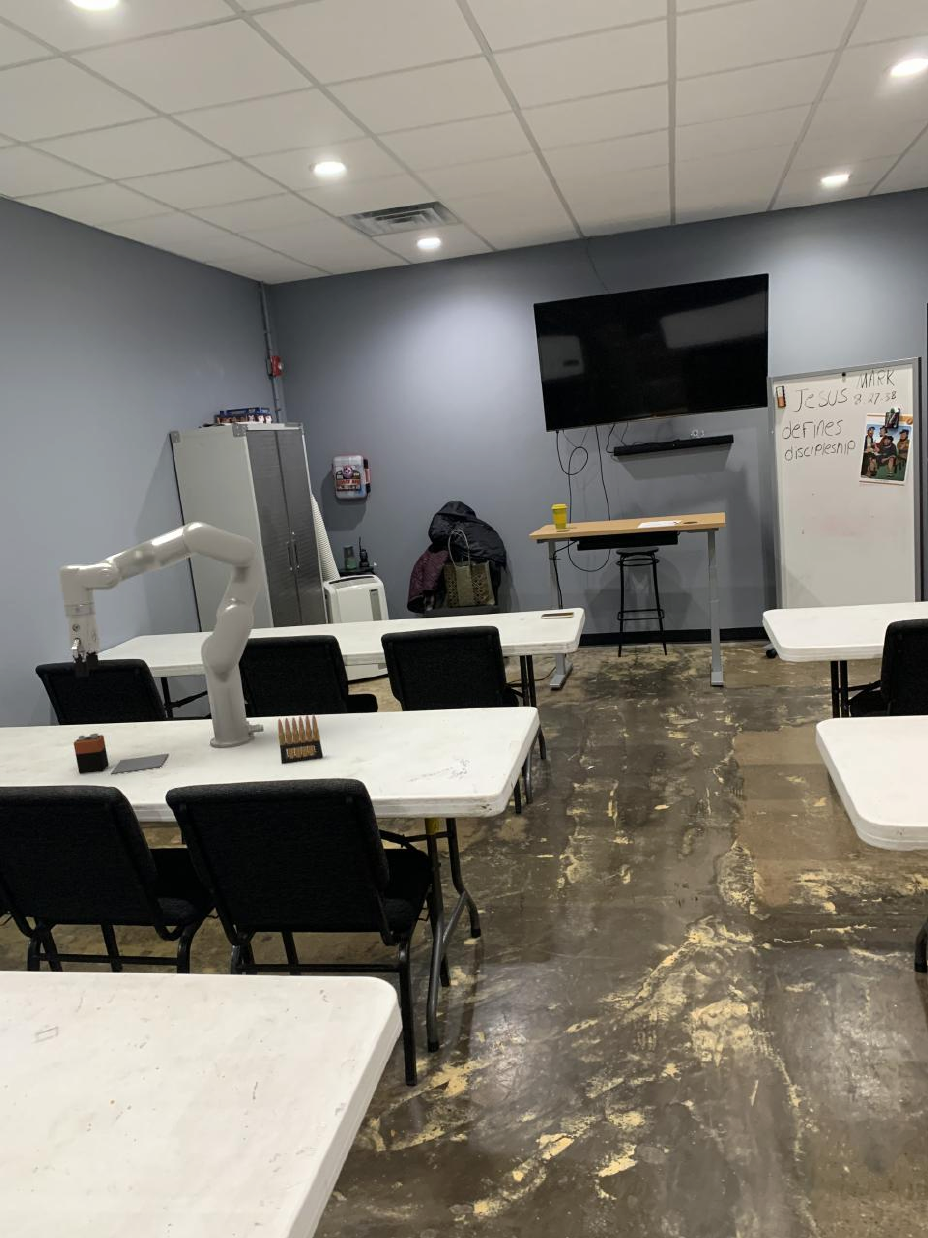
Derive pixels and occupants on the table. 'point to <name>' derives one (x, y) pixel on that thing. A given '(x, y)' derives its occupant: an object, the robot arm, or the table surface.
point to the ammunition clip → (299, 741)
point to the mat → (140, 763)
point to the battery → (91, 754)
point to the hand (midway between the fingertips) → (87, 672)
